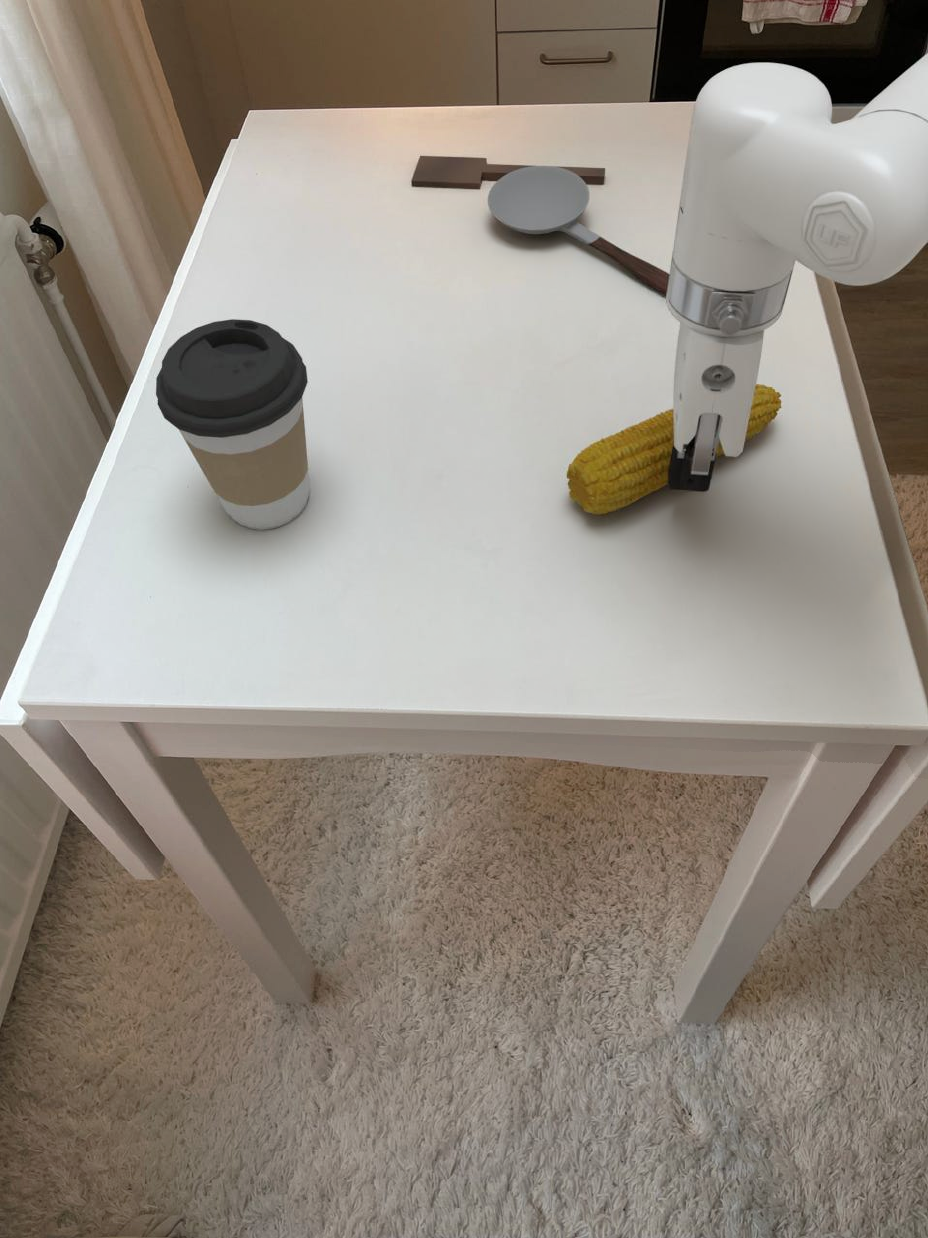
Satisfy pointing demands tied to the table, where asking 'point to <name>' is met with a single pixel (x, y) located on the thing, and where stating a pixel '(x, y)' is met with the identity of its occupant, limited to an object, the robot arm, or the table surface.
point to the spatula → (478, 172)
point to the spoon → (559, 214)
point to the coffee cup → (241, 417)
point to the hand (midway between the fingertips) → (687, 483)
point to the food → (643, 458)
